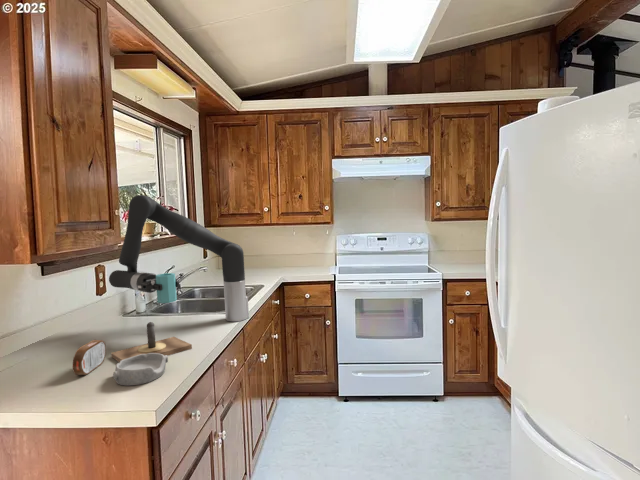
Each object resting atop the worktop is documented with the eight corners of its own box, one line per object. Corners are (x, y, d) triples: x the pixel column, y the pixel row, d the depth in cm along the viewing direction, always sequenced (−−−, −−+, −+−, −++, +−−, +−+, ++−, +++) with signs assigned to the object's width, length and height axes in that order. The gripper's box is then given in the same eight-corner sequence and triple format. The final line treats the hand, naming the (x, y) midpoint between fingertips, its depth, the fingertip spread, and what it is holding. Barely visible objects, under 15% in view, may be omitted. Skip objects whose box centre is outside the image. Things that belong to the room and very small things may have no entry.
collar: (169, 298, 158) (168, 272, 158) (179, 300, 155) (178, 274, 154) (154, 301, 153) (152, 275, 152) (164, 303, 149) (162, 276, 149)
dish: (170, 366, 129) (169, 350, 128) (160, 384, 115) (158, 367, 115) (122, 370, 127) (120, 354, 126) (105, 390, 113) (103, 372, 113)
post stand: (174, 340, 154) (172, 312, 153) (191, 348, 144) (189, 318, 143) (111, 357, 139) (108, 326, 138) (126, 367, 129) (123, 333, 128)
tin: (99, 361, 136) (97, 336, 135) (108, 360, 136) (106, 335, 135) (72, 380, 121) (69, 352, 120) (83, 379, 121) (80, 351, 120)
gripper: (126, 275, 156) (151, 278, 146) (160, 270, 167) (185, 272, 157) (128, 295, 156) (152, 299, 147) (162, 288, 168) (187, 292, 158)
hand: (169, 285), depth 152 cm, fingers closed on collar, 6 cm apart
